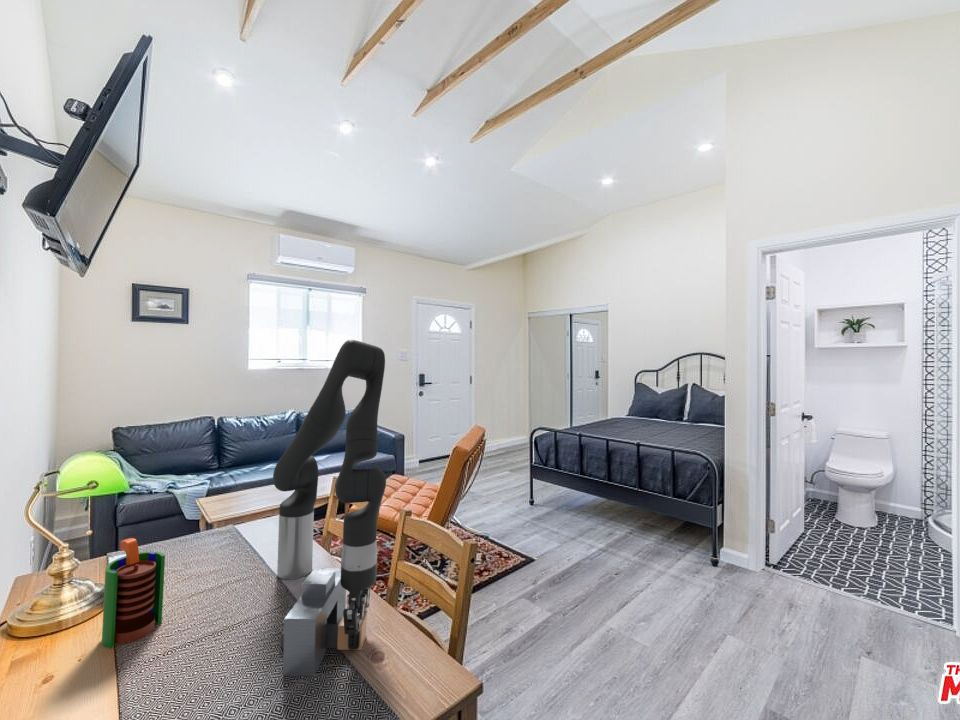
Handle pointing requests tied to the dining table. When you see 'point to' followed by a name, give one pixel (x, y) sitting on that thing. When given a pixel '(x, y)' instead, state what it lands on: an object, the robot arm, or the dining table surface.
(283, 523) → the robot arm
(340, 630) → the plug
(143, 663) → the dining table surface
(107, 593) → the motor
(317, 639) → the housing
